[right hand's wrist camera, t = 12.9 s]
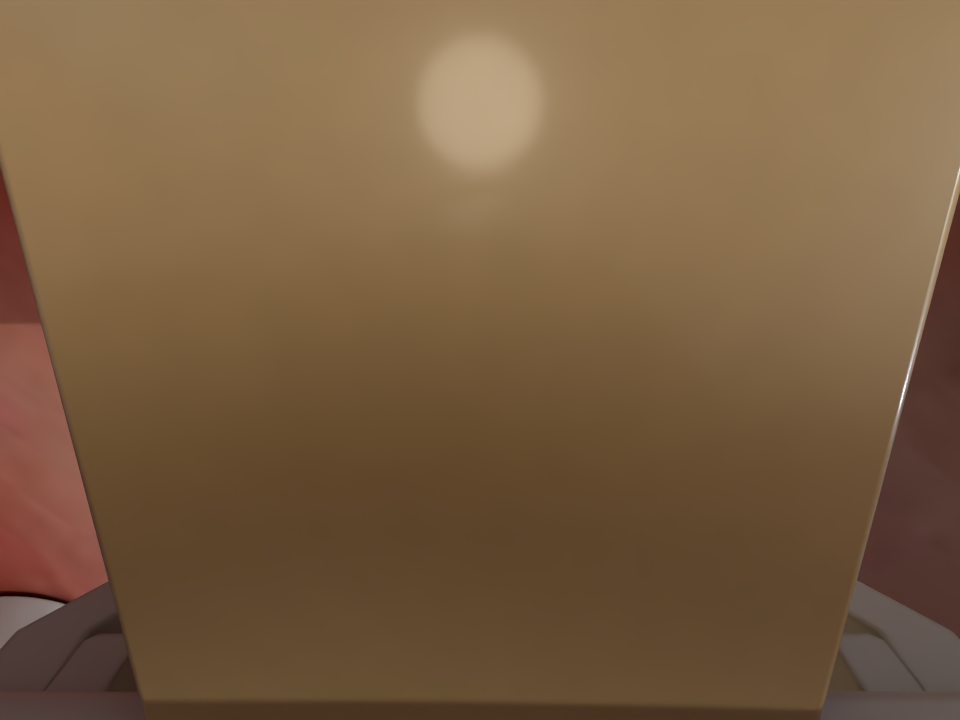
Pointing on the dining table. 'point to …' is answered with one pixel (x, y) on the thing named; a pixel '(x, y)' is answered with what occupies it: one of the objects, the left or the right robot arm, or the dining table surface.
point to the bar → (482, 337)
